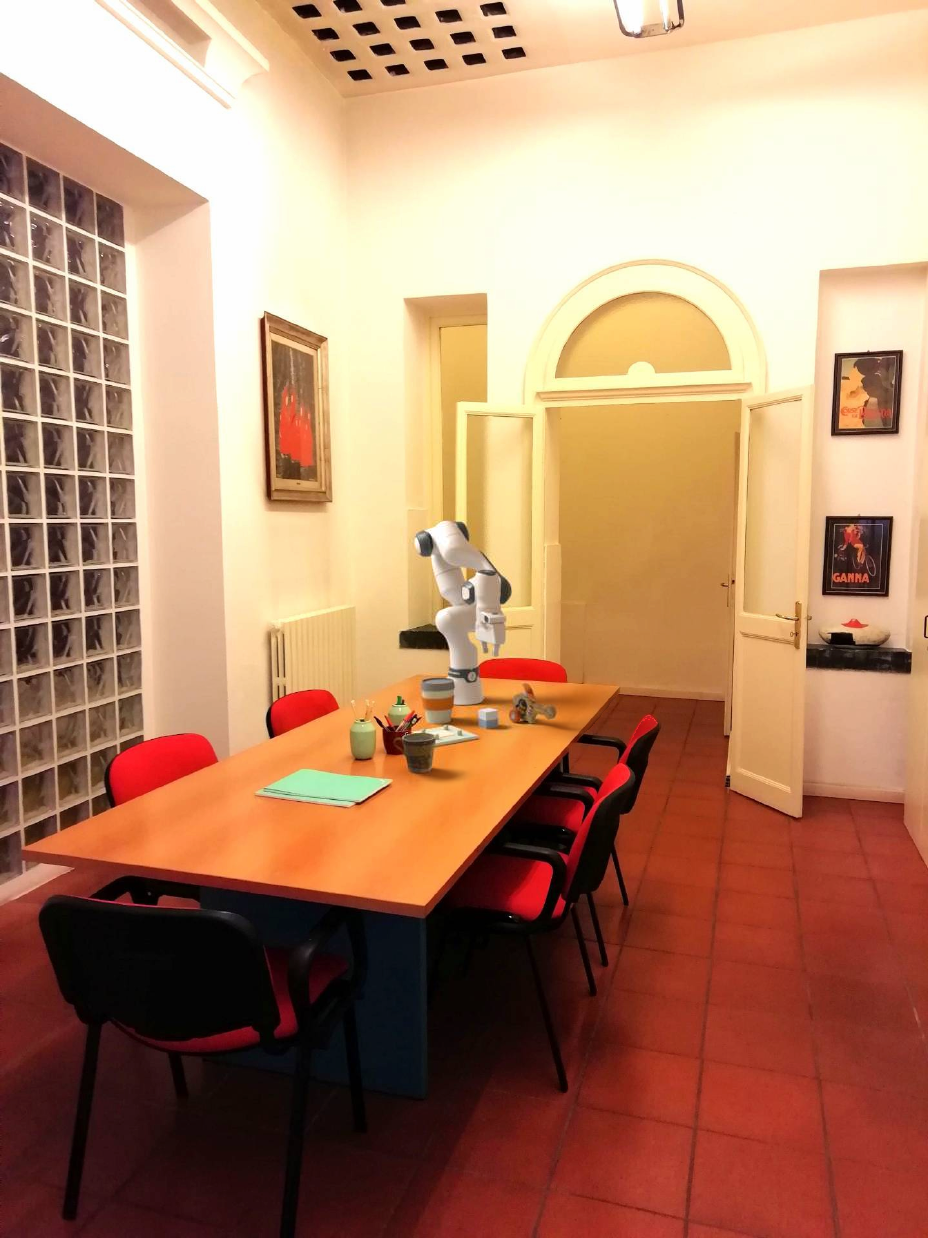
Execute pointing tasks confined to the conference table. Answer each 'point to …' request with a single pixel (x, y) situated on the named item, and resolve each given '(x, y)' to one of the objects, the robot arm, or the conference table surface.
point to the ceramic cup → (418, 751)
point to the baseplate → (448, 735)
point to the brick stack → (488, 718)
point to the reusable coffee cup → (438, 699)
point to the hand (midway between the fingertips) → (490, 654)
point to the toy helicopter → (529, 707)
